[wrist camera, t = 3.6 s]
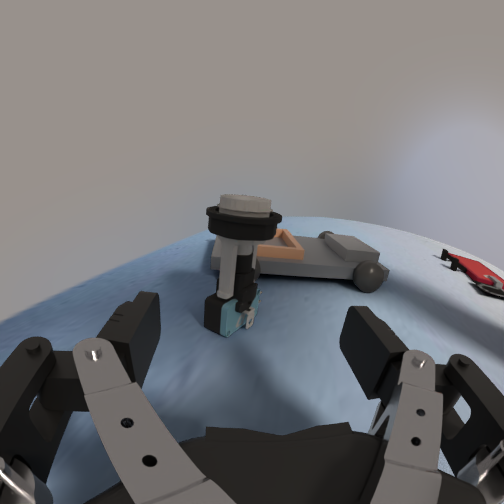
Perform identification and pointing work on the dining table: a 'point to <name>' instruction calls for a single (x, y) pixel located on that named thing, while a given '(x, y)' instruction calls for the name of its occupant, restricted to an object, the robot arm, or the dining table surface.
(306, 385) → the dining table surface
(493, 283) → the red board with handle
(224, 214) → the push button
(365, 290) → the chassis
